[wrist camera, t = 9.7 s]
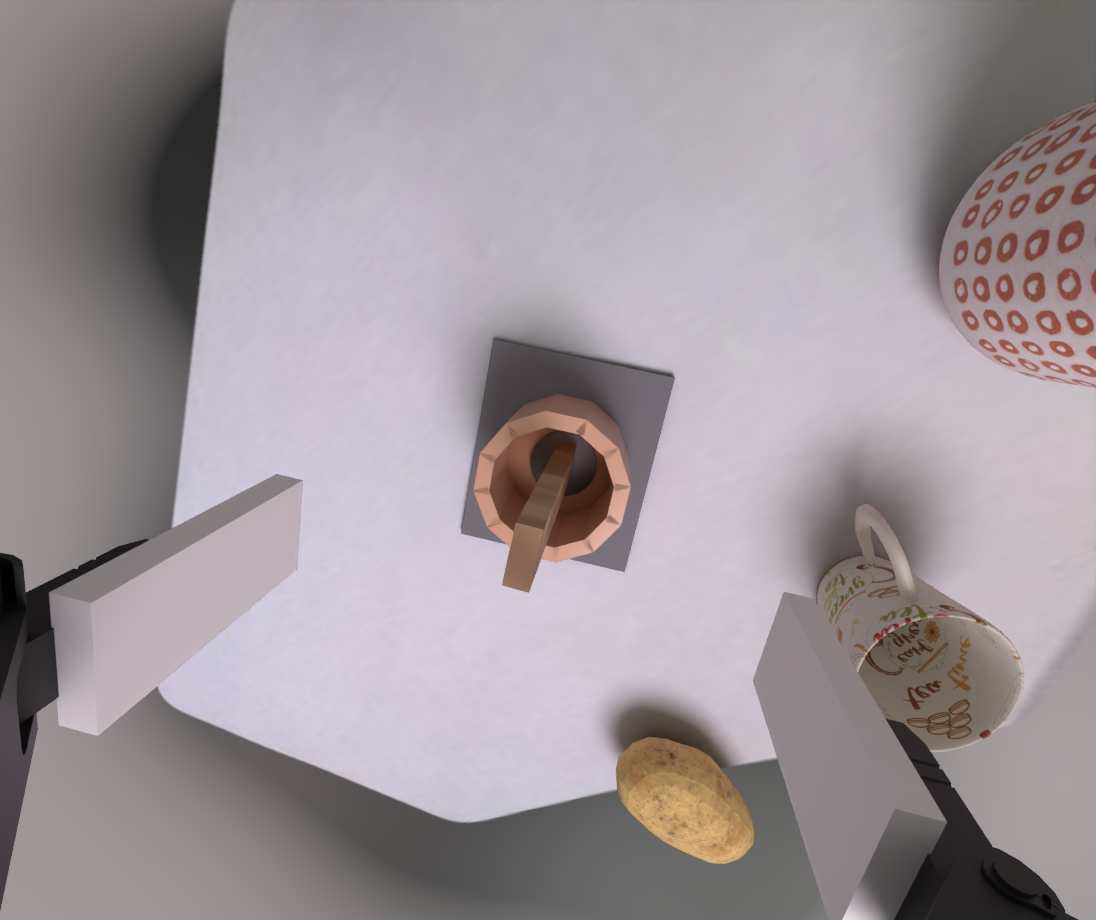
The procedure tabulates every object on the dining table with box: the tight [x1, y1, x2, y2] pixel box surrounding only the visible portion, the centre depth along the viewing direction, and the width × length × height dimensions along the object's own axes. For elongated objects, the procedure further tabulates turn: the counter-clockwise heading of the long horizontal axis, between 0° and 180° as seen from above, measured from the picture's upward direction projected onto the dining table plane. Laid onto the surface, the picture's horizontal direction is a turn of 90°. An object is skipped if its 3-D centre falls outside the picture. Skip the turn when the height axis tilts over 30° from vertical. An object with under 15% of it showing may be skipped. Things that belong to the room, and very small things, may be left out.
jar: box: [474, 394, 631, 562], centre depth 37 cm, size 9×9×6 cm
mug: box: [817, 504, 1024, 752], centre depth 35 cm, size 8×12×10 cm, turn 20°
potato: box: [616, 737, 754, 863], centre depth 43 cm, size 7×11×6 cm, turn 48°
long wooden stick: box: [502, 430, 597, 593], centre depth 32 cm, size 4×4×15 cm
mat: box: [461, 339, 675, 572], centre depth 40 cm, size 14×12×1 cm
